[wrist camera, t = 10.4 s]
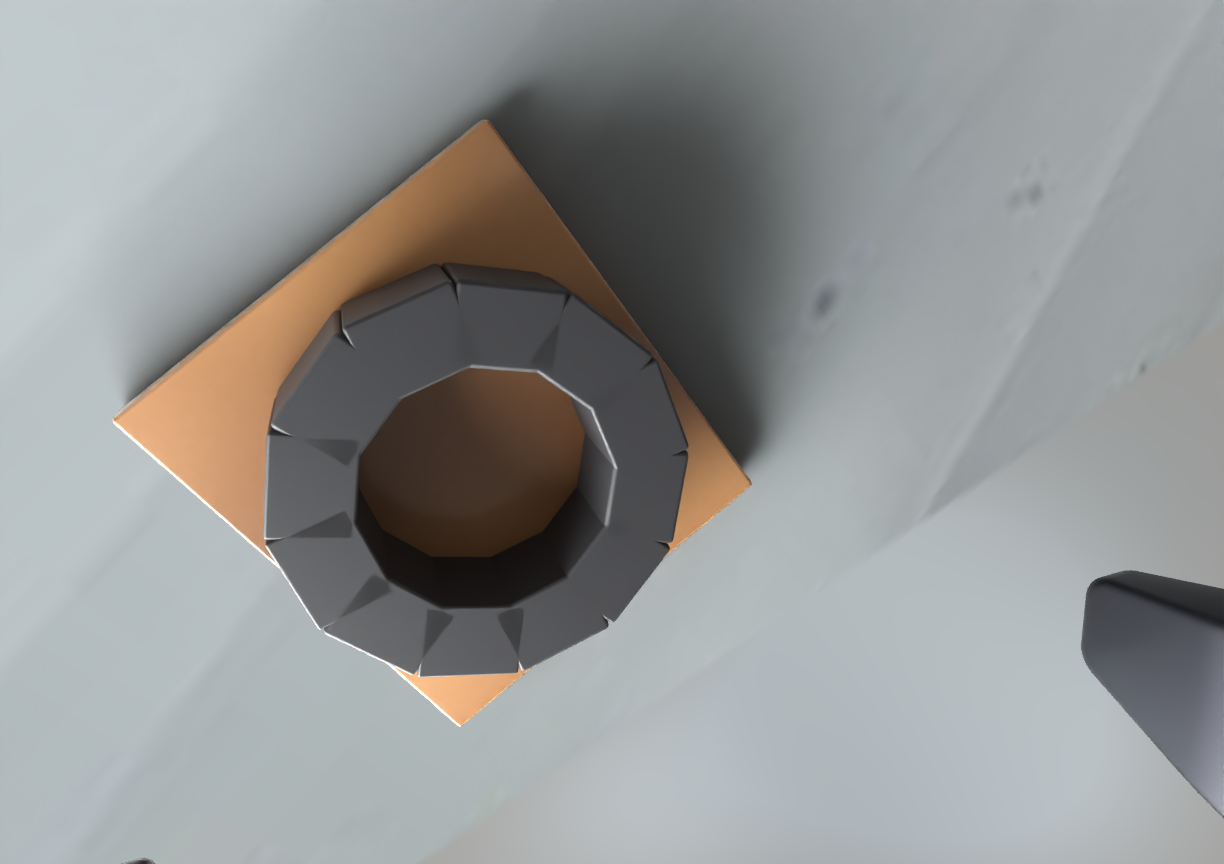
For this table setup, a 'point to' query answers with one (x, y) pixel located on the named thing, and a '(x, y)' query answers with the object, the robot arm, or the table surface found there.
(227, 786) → the table surface
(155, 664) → the table surface
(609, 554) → the tape roll
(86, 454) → the table surface
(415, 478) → the cork mat
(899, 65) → the table surface
